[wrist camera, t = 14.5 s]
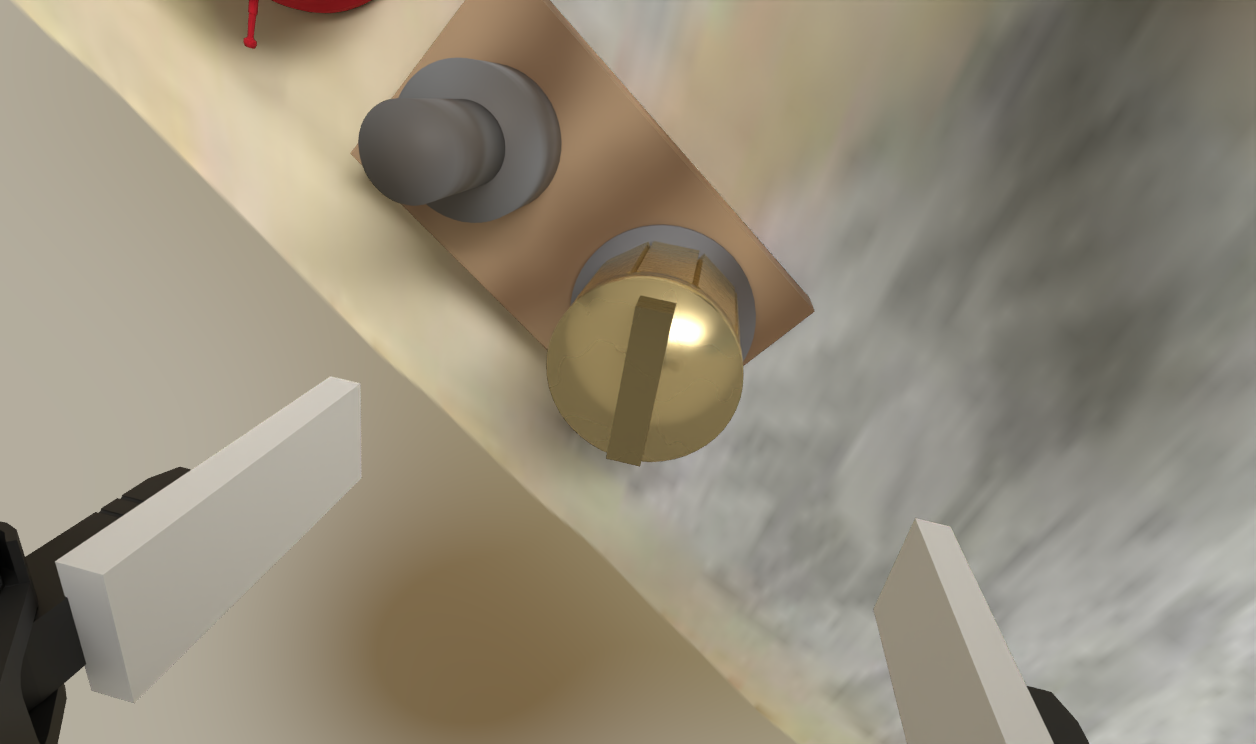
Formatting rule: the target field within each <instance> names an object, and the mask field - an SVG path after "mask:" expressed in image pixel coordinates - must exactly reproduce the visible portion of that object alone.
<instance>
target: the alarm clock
mask: <svg viewBox="0 0 1256 744" xmlns="http://www.w3.org/2000/svg"><path fill="white" fill-rule="evenodd" d="M272 1H274V2H277V3H279V4H282V5H284V6H287V7H290V8H294V9H298V10H303V11H308V12H315V13H335V12H342V11H347V10H350V9H353V8H356V7H359V6H361V5H363V4H365V3H367V2H369V1H371V0H272ZM258 2H259V0H249V8H248V12H249V18H248V36H247V38H244V41H243V42H244V44H245V46H246V47H249V48H253V49H255V47H256V46H257V42H256V41H255V40H254V29H255V21H256V15H257V13H258Z"/></svg>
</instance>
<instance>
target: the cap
mask: <svg viewBox="0 0 1256 744" xmlns="http://www.w3.org/2000/svg"><path fill="white" fill-rule="evenodd" d="M699 251H700V250H695V249H690V248H685V247H681V246H676V245H671V244H667V243H662V242H657V241H654V242H653V243H652V245H651V246H650V244H649V242H646V243H644V244H642V245H639V246H637V247H635V248H633V249H631V250H628V251H626V252H624V253H622V254H619V255H617V256H615V257H613V258H611V259H608V260H607V261H606V263H605V264H603V265H602V266H601V268H600V269H599V270H598V271H597V273H596V274H595V275H594V276H593V278H592V279H591V280H590V281H589V283H588V284H587V285H586V286H585V288H584V289H583V290H582V291H581V293H580V294H579V295H578V296H577V298H576V300H575V301H574V302H573V304H572V305H571V306H570V307H569V309H568V310H567V311H566V312H565V314H564V315H563V316H562V318H561V319H560V321H559V322H558V324H557V326H556V328H555V330H554V332H553V334H552V337H551V340H550V342H549V347H548V352H547V362H546V369H547V379H548V384H549V389H550V392H551V395H552V397H553V400H554V402H555V404H556V406H557V408H558V410H559V412H560V413H561V415H562V416H563V418H564V419H565V421H566V422H567V423H568V424H569V425H570V426H571V428H572V429H573V430H574V431H575V432H576V433H578V434H579V435H580V436H581V437H582V438H583V439H585V440H586V441H587V442H589V443H590V444H592V445H593V446H595V447H597V448H598V449H600V450H602V451H604V452H607V456H606V459H611V460H615V461H619V462H623V463H627V464H632V465H636V466H640V465H641V461H643V462H658V461H666V460H672V459H676V458H680V457H683V456H686V455H688V454H691V453H693V452H695V451H697V450H699V449H700V448H702V447H704V446H706V445H707V444H708V443H710V442H711V441H712V440H713V439H715V438H716V437H717V436H718V435H719V434H720V433H721V432H722V431H723V430H724V428H725V427H726V426H727V424H728V423H729V421H730V420H731V418H732V416H733V415H734V413H735V411H736V409H737V406H738V403H739V400H740V397H741V392H742V388H743V358H742V349H741V345H740V327H739V313H738V299H737V292H736V293H735V287H734V286H733V285H732V284H731V282H730V281H729V280H728V279H727V278H726V277H725V276H724V275H723V274H722V272H721V271H720V270H719V269H718V268H717V267H716V266H715V265H714V263H713V262H712V261H711V260H710V259H709V258H708V257H707V256H706V254H705V253H704V254H703V255H702V256H701V257H700V258H699V259H698V255H699Z"/></svg>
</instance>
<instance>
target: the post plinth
mask: <svg viewBox="0 0 1256 744" xmlns="http://www.w3.org/2000/svg"><path fill="white" fill-rule="evenodd" d="M350 154H351V155H352V156H353V157H354V158H355V159H356V160H357V161H358V162H359V163H360V164H361V165H362V166H363V168H364V170H365V173H366V174H367V176H368V178H369V179H370V181H371V182H372V183H373V185H374V186H375V187H376V188H377V189H378V190H379V191H380V192H381V193H382V194H384V195H385V196H386V197H388V198H389V199H391V200H393V201H395V202H398V203H401V204H402V205H403V206H404V207H405V208H406V209H407V210H408V211H409V212H410V213H411V214H412V215H413V216H414V217H415V218H416V219H417V220H418V221H419V222H420V223H421V224H422V225H423V226H424V227H425V228H426V229H427V230H428V231H429V232H430V233H431V234H432V235H433V236H434V237H435V238H436V239H437V240H438V241H439V242H440V243H441V244H442V245H443V246H444V247H445V248H446V249H447V250H448V251H449V252H450V253H451V254H452V255H453V256H454V257H455V258H456V259H457V260H458V261H459V262H460V263H461V264H462V265H463V266H464V267H465V268H466V269H467V270H468V271H469V272H470V273H471V274H472V275H473V276H474V277H475V278H476V279H477V280H478V281H479V282H480V283H481V284H482V285H483V286H484V287H485V288H486V289H487V290H488V291H489V292H490V293H491V294H492V295H493V296H494V297H495V298H496V299H497V300H498V301H499V302H500V303H501V304H502V305H503V306H504V307H505V308H506V309H507V310H508V311H509V312H510V313H511V314H512V315H513V316H514V317H515V318H516V319H517V320H518V321H519V322H520V323H521V324H522V325H523V326H524V327H525V328H526V329H527V330H528V331H529V332H530V333H531V334H532V335H533V336H534V337H535V338H536V339H537V340H538V341H539V342H540V343H541V344H542V345H543V346H544V347H545V348H546V349H547V350H548V347H549V342H550V340H551V337H552V334H553V332H554V330H555V328H556V326H557V324H558V322H559V321H560V319H561V318H562V316H563V315H564V314H565V312H566V311H567V310H568V309H569V307H570V306H571V305H572V304H573V302H574V301H575V300H576V298H577V296H578V295H579V294H580V293H581V291H582V290H583V289H584V288H585V286H586V285H587V284H588V283H589V281H590V280H591V279H592V278H593V276H594V275H595V274H596V273H597V271H598V270H599V269H600V268H601V266H602V265H603V264H605V263H606V261H607V260H608V259H611V258H613V257H615V256H617V255H619V254H622V253H624V252H626V251H628V250H631V249H633V248H635V247H637V246H639V245H642V244H644V243H646V242H649V244H650V246H651V245H652V243H653V242H654V241H657V242H662V243H667V244H671V245H676V246H681V247H685V248H690V249H695V250H700V251H699V255H698V259H699V258H700V257H701V256H702V255H703V254H704V253H705V254H706V256H707V257H708V258H709V259H710V260H711V261H712V262H713V263H714V265H715V266H716V267H717V268H718V269H719V270H720V271H721V272H722V274H723V275H724V276H725V277H726V278H727V279H728V280H729V281H730V282H731V284H732V285H733V286H734V287H735V293H736V292H737V299H738V313H739V327H740V345H741V349H742V358H743V366H744V365H745V364H747V363H748V362H749V361H750V360H752V359H753V358H754V357H756V356H757V355H758V354H760V353H761V352H762V351H764V350H765V349H766V348H767V347H769V346H770V345H771V344H773V343H774V342H775V341H777V340H778V339H779V338H780V337H782V336H783V335H784V334H786V333H787V332H788V331H790V330H791V329H792V328H793V327H795V326H796V325H797V324H799V323H800V322H801V321H803V320H804V319H805V318H807V317H808V316H809V315H810V314H812V313H813V312H814V308H813V306H812V303H811V301H810V298H809V297H808V296H807V294H806V293H805V292H804V291H803V290H802V289H801V288H800V286H799V285H798V284H797V283H796V282H795V281H794V280H793V278H792V277H791V276H790V275H789V274H788V273H787V272H786V270H785V269H784V268H783V267H782V266H781V265H780V264H779V262H778V261H777V260H776V259H775V258H774V257H773V256H772V254H771V253H770V252H769V251H768V250H767V249H766V248H765V246H764V245H763V244H762V243H761V242H760V241H759V239H758V238H757V237H756V236H755V235H754V234H753V233H752V231H751V230H750V229H749V228H748V227H747V226H746V225H745V223H744V222H743V221H742V220H741V219H740V218H739V217H738V215H737V214H736V213H735V212H734V211H733V210H732V209H731V207H730V206H729V205H728V204H727V203H726V202H725V201H724V199H723V198H722V197H721V196H720V195H719V194H718V193H717V191H716V190H715V189H714V188H713V187H712V186H711V184H710V183H709V182H708V181H707V180H706V179H705V178H704V176H703V175H702V174H701V173H700V172H699V171H698V170H697V168H696V167H695V166H694V165H693V164H692V163H691V162H690V160H689V159H688V158H687V157H686V156H685V155H684V154H683V152H682V151H681V150H680V149H679V148H678V147H677V146H676V144H675V143H674V142H673V141H672V140H671V139H670V138H669V136H668V135H667V134H666V133H665V132H664V131H663V130H662V128H661V127H660V126H659V125H658V124H657V123H656V121H655V120H654V119H653V118H652V117H651V116H650V115H649V113H648V112H647V111H646V110H645V109H644V108H643V107H642V105H641V104H640V103H639V102H638V101H637V100H636V99H635V97H634V96H633V95H632V94H631V93H630V92H629V91H628V89H627V88H626V87H625V86H624V85H623V84H622V83H621V81H620V80H619V79H618V78H617V77H616V76H615V75H614V73H613V72H612V71H611V70H610V69H609V68H608V66H607V65H606V64H605V63H604V62H603V61H602V60H601V58H600V57H599V56H598V55H597V54H596V53H595V52H594V50H593V49H592V48H591V47H590V46H589V45H588V44H587V42H586V41H585V40H584V39H583V38H582V37H581V36H580V34H579V33H578V32H577V31H576V30H575V29H574V28H573V26H572V25H571V24H570V23H569V22H568V21H567V20H566V18H565V17H564V16H563V15H562V14H561V13H560V11H559V10H558V9H557V8H556V7H555V6H554V5H553V3H552V2H551V1H550V0H465V1H464V3H463V4H462V5H461V7H460V8H459V9H458V11H457V12H456V13H455V15H454V16H453V17H452V19H451V20H450V21H449V23H448V24H447V25H446V27H445V28H444V29H443V31H442V32H441V33H440V35H439V36H438V37H437V39H436V40H435V41H434V43H433V44H432V45H431V47H430V48H429V49H428V51H427V52H426V53H425V55H424V56H423V57H422V59H421V60H420V61H419V63H418V64H417V65H416V67H415V68H414V69H413V71H412V72H411V73H410V75H409V76H408V77H407V79H406V80H405V81H404V83H403V84H402V85H401V87H400V88H399V89H398V91H397V92H396V93H395V95H394V96H393V97H392V99H389V100H386V101H383V102H381V103H379V104H378V105H376V106H375V107H374V108H372V109H371V110H370V112H369V113H368V114H367V115H366V117H365V119H364V121H363V123H362V125H361V128H360V132H359V140H358V144H357V145H356V147H355V148H354V149H353V151H352V152H351V153H350Z"/></svg>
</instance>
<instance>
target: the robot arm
mask: <svg viewBox="0 0 1256 744" xmlns="http://www.w3.org/2000/svg"><path fill="white" fill-rule="evenodd" d="M360 396H361V393H360V383H356V382H352V381H348V380H344V379H339V378H336V377H331V376H330V377H329V378H327V379H326V380H324V381H323V382H321V383H320V384H318V385H317V386H315V387H314V388H312V389H311V390H309V391H308V392H306V393H305V394H303V395H302V396H300V397H299V398H298V399H296V400H294V401H293V402H292V403H290V404H289V405H287V406H286V407H284V408H283V409H281V410H280V411H278V412H277V413H275V414H274V415H272V416H271V417H269V418H268V419H266V420H265V421H263V422H262V423H260V424H259V425H257V426H256V427H254V428H253V429H251V430H250V431H249V432H247V433H245V434H244V435H242V436H241V437H240V438H238V439H237V440H235V441H234V442H232V443H231V444H229V445H228V446H226V447H225V448H223V449H222V450H220V451H219V452H217V453H216V454H214V455H213V456H211V457H210V458H208V459H207V460H205V461H204V462H202V463H201V464H199V465H198V466H196V467H195V468H194V469H192V470H190V469H186V468H183V467H178V468H175V469H172V470H170V471H167V472H164V473H162V474H159V475H156V476H154V477H151V478H148V479H147V480H145V481H143V482H142V483H140V484H139V485H137V486H136V487H134V488H133V489H131V490H129V491H128V492H126V493H125V494H123V495H122V498H121V499H118V498H117V499H115V500H114V501H112V502H111V503H109V504H108V505H106V506H104V507H103V508H101V511H100V512H99V513H97V512H95V513H93V514H92V515H90V516H89V517H87V518H85V519H84V520H82V521H81V522H79V523H78V524H76V525H75V526H73V527H71V528H70V529H68V530H67V531H65V532H64V533H62V534H61V535H59V536H57V537H56V538H54V539H53V540H51V541H49V542H48V543H46V544H45V545H43V546H42V547H40V548H38V549H37V550H35V551H34V552H32V553H31V554H29V555H28V556H26V557H25V556H24V553H23V549H22V546H21V543H20V540H19V536H18V533H17V530H16V529H15V528H13V527H12V526H11V525H9V524H8V523H5V522H0V744H58V739H59V734H60V729H61V724H62V719H63V714H64V708H65V704H66V699H67V698H66V691H65V690H66V689H65V685H64V683H65V682H66V681H67V680H68V679H70V677H72V676H73V675H74V674H75V673H76V672H78V671H79V670H80V669H81V668H82V667H83V666H85V669H86V673H87V676H88V680H89V683H90V686H91V690H92V691H94V692H98V693H101V694H105V695H108V696H111V697H114V698H118V699H121V700H125V701H128V702H131V703H135V702H136V701H137V700H138V699H139V698H140V697H141V696H142V695H143V694H144V693H145V692H146V691H147V690H148V689H149V688H150V687H151V686H152V685H153V684H154V683H155V682H156V681H157V680H158V679H159V678H160V677H161V676H162V675H163V674H164V673H165V672H166V671H167V670H168V669H169V668H170V667H171V666H172V665H174V663H176V661H177V660H178V659H179V658H181V657H182V656H183V654H185V652H187V650H189V648H191V647H192V646H193V645H194V644H195V643H196V642H197V640H199V639H200V638H201V637H202V636H203V635H204V634H205V633H206V632H207V631H208V630H209V629H210V628H211V627H212V626H213V625H214V624H215V623H216V622H217V621H218V620H219V619H220V618H221V617H222V616H223V615H224V614H225V613H226V612H227V611H228V610H229V609H230V608H231V607H232V606H233V605H234V604H235V603H236V602H237V601H238V600H239V599H240V598H241V597H242V596H243V595H244V594H245V593H246V592H247V591H248V590H249V589H250V588H251V587H252V586H253V585H254V584H255V583H256V582H257V581H258V580H259V579H260V578H261V577H262V576H263V575H264V574H265V573H266V572H267V571H268V570H269V569H270V568H271V567H272V566H273V565H274V564H275V563H276V562H277V561H278V560H279V559H280V558H281V557H282V556H283V555H284V554H285V553H286V552H287V551H288V550H289V549H290V548H291V547H292V546H294V545H295V544H296V543H297V542H298V540H299V539H300V538H302V536H304V534H306V533H307V532H308V531H309V530H310V529H311V528H312V527H313V526H314V525H315V524H316V523H317V522H318V521H319V520H320V519H321V518H322V517H323V516H324V515H325V514H326V513H327V512H328V511H329V510H330V509H331V508H332V507H333V506H334V505H335V504H336V503H337V502H338V501H339V500H340V499H341V498H342V497H343V496H344V495H345V494H346V493H347V492H348V491H349V490H350V489H351V488H352V487H353V486H354V485H355V484H356V483H357V482H358V481H359V480H360V479H361V478H362V477H361V397H360ZM874 613H875V617H876V621H877V625H878V629H879V633H880V637H881V641H882V645H883V649H884V653H885V657H886V661H887V665H888V669H889V673H890V677H891V681H892V685H893V689H894V693H895V697H896V701H897V705H898V709H899V713H900V717H901V721H902V725H903V729H904V733H905V738H906V742H907V744H1089V742H1088V740H1087V738H1086V736H1085V734H1084V733H1083V731H1082V729H1081V727H1080V725H1079V723H1078V722H1077V720H1076V719H1075V718H1074V717H1073V716H1072V715H1071V714H1070V713H1069V711H1068V710H1067V709H1066V708H1065V707H1064V706H1063V705H1062V703H1061V702H1060V701H1059V700H1058V699H1057V698H1056V697H1055V696H1054V694H1053V693H1052V692H1049V691H1045V690H1041V689H1037V688H1033V687H1029V686H1026V684H1025V682H1024V680H1023V678H1022V676H1021V674H1020V671H1019V669H1018V667H1017V665H1016V663H1015V661H1014V659H1013V657H1012V655H1011V653H1010V651H1009V648H1008V646H1007V644H1006V642H1005V640H1004V638H1003V636H1002V634H1001V632H1000V630H999V627H998V625H997V623H996V621H995V619H994V617H993V615H992V613H991V611H990V609H989V606H988V604H987V602H986V600H985V598H984V596H983V594H982V592H981V590H980V588H979V585H978V583H977V581H976V579H975V577H974V575H973V573H972V571H971V569H970V567H969V565H968V562H967V560H966V558H965V556H964V554H963V552H962V550H961V548H960V546H959V544H958V541H957V539H956V537H955V535H954V533H953V531H952V529H951V527H950V526H946V525H942V524H938V523H934V522H930V521H926V520H921V519H917V518H915V520H914V522H913V524H912V526H911V528H910V531H909V533H908V535H907V537H906V539H905V541H904V544H903V546H902V548H901V550H900V552H899V554H898V557H897V559H896V561H895V563H894V565H893V568H892V570H891V572H890V574H889V576H888V578H887V581H886V583H885V585H884V587H883V589H882V591H881V594H880V596H879V598H878V600H877V602H876V605H875V607H874Z"/></svg>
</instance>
